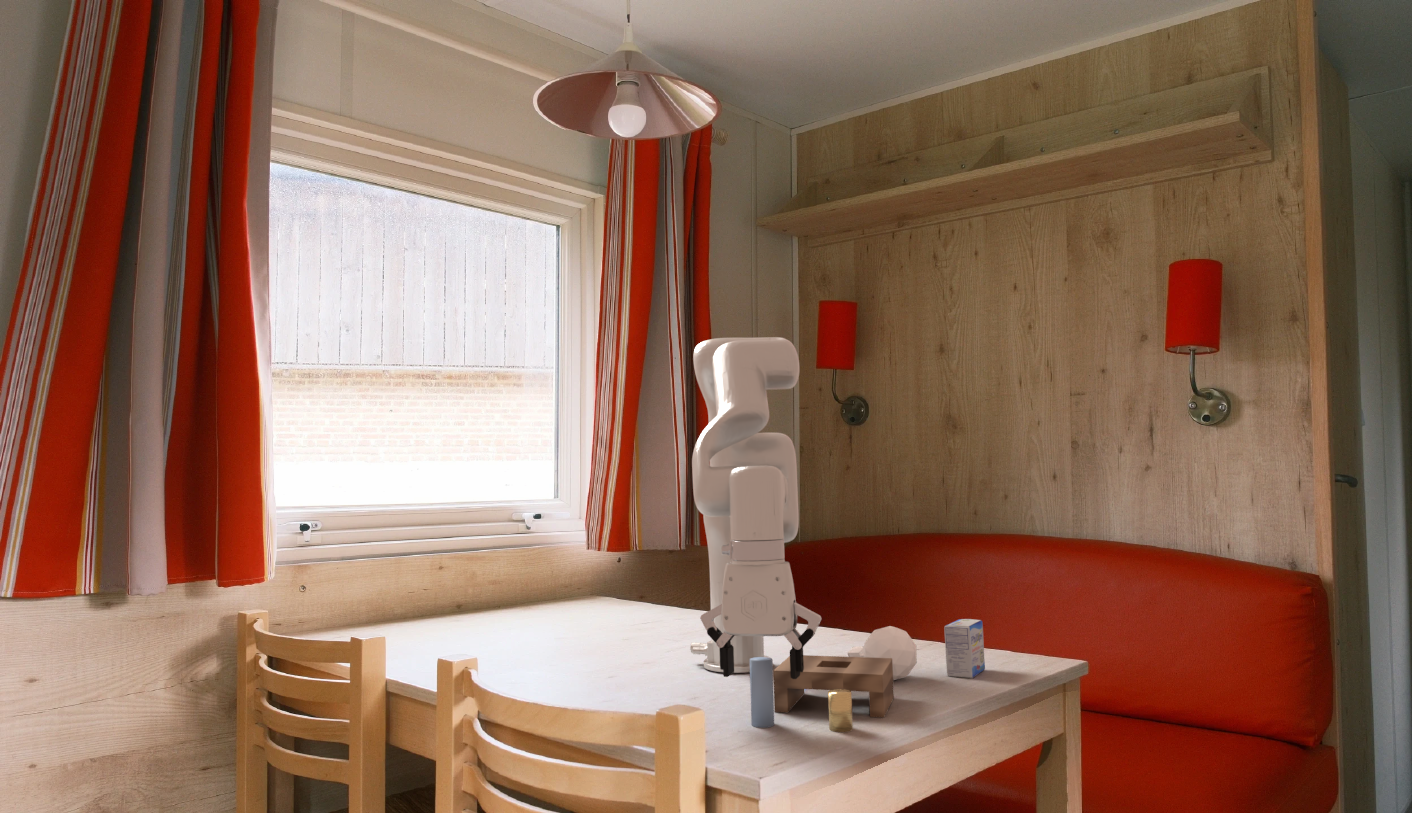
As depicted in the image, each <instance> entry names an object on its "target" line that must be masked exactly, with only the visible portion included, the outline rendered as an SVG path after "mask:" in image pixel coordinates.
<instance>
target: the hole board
mask: <svg viewBox="0 0 1412 813" xmlns="http://www.w3.org/2000/svg"><path fill="white" fill-rule="evenodd" d="M803 661H804V670H803V672H800V676H799V677H798V678H797V679H792V678H791V675H790V655H789V656H788V657H787V658H785V660H783V661H782V662H781V663H780V664H778V666H777V667H775V668H773V698H774V713H789V712H790V711H791V709H792V708H794V707H795V705H797V703H798V702H799V701H800V699H802V697H803V696H804V695H805V690H813V691H814V690H816V691H817V690H818V691H819V690H820V691H829V690H834V689H845V690H850V691H851V692H859V693H860V692H863V693H868V697H869V698H868V699H869V717H870V718H880V719H881V718H882V719H883V718H885V717H886V715H887V713H888V710H889V709H890V707H891V704H892V702H893V700H894V697H895V696H894V695H895V694H894V691H895V690H894V680H893V665H892V658H869V657H849V656H840V655H839V656H837V655H836V656H833V655H832V656H831V655H830V656H829V655H804V654H803Z"/></svg>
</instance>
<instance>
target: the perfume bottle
mask: <svg viewBox="0 0 1412 813" xmlns="http://www.w3.org/2000/svg"><path fill="white" fill-rule="evenodd" d="M917 648H918V647H917V645H916V643H915V642H914V640H913V638H912V637H911V636H910V635H909V634H908V632H907V631H906V630H903V629H902V628H898V627H895V626H891V625H889V626H885V627H881V628H877V629H874V630H873V631H872V632H871V633H870V635H869V637H868V638H867V639H866V641H865V642H864V643H863V646H852V648H850V650H849V651H847V657H869V658H892V665H893V681H895V680H900V679H903V678H907V677H908V676H909V674H910V673H911V671H912V670H913V669H914V667H916V665H917V663H918V661H917V660H918V659H917V658H918V657H917V650H918V649H917Z"/></svg>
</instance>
